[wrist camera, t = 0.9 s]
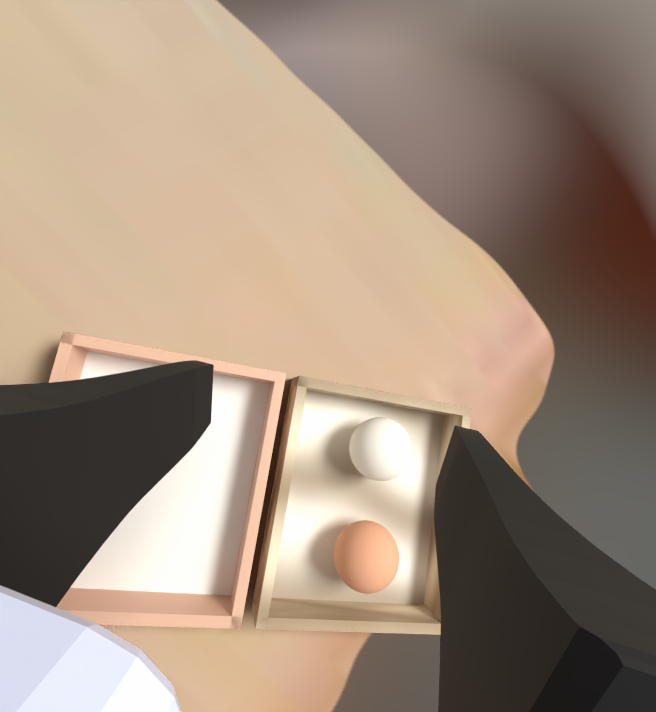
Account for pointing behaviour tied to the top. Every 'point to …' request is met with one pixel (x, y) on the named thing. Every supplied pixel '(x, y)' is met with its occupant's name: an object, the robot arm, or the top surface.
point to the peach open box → (182, 502)
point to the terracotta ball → (366, 556)
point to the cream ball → (380, 449)
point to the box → (350, 513)
